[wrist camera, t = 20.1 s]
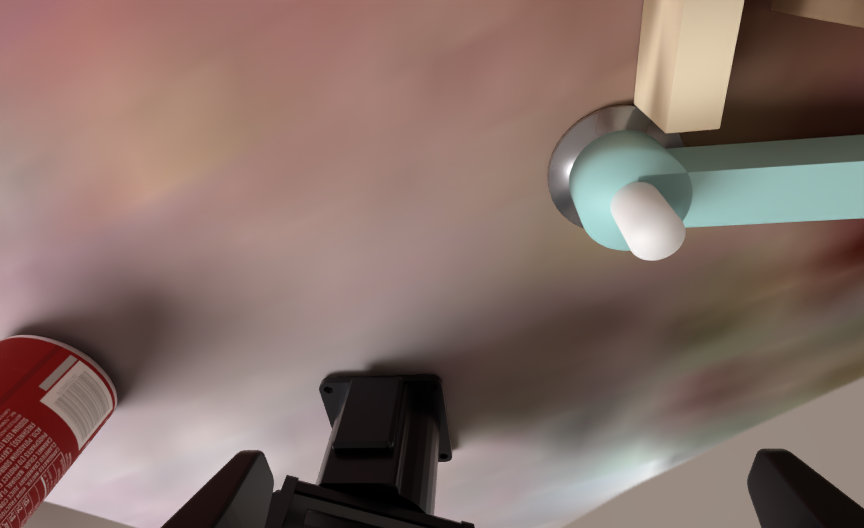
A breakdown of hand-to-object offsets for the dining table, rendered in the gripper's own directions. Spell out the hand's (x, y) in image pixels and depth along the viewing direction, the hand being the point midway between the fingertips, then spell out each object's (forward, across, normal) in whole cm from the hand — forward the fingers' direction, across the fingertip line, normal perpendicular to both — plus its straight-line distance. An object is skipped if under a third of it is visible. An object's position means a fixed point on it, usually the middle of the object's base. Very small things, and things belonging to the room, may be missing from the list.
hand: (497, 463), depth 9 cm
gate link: (+12, -12, -1) cm, 17 cm away
